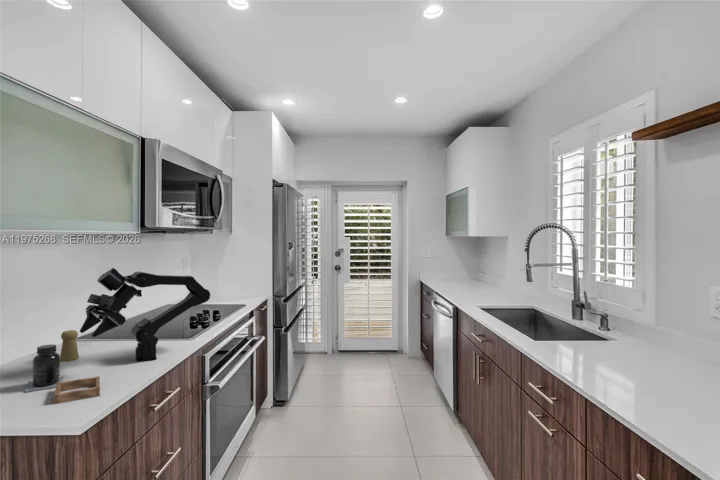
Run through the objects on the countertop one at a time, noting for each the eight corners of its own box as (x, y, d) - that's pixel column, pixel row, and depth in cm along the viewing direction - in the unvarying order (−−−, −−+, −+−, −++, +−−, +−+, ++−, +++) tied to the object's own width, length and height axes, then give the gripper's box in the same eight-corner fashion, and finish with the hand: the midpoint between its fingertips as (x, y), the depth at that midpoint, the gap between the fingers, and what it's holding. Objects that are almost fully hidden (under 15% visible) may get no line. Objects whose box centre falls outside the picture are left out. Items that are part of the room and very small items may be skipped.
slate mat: (63, 377, 131) (63, 376, 131) (61, 386, 124) (61, 385, 124) (28, 383, 126) (28, 381, 126) (24, 392, 119) (24, 391, 119)
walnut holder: (99, 383, 127) (99, 376, 127) (99, 395, 118) (99, 387, 118) (56, 390, 121) (56, 382, 121) (53, 403, 112) (53, 395, 112)
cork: (68, 362, 146) (68, 333, 146) (55, 360, 148) (55, 332, 147) (82, 357, 152) (83, 329, 152) (70, 356, 154) (70, 328, 153)
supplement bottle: (64, 381, 126) (64, 345, 126) (39, 389, 120) (40, 350, 120) (52, 378, 129) (52, 342, 129) (27, 384, 123) (28, 347, 123)
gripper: (91, 283, 145) (56, 317, 136) (116, 287, 135) (80, 325, 126) (114, 301, 152) (81, 335, 143) (139, 306, 142) (106, 343, 133)
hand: (86, 334), depth 136 cm, fingers open, 9 cm apart
